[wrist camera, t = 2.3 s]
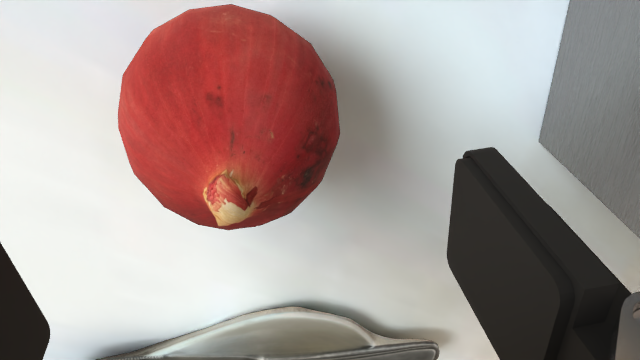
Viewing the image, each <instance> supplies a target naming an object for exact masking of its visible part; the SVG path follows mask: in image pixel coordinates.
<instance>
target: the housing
mask: <svg viewBox="0 0 640 360" xmlns="http://www.w3.org/2000/svg"><path fill="white" fill-rule="evenodd" d="M539 142H540V143H541V144H542V145H543V146H544V147H545V148H546V149H547V150H548V151H549V152H550V153H551V154H552V155H553V156H554V157H555V158H556V159H557V160H558V161H559V162H561V163H562V164H563V165H564V166H565V167H566V168H567V169H568V170H569V171H570V172H571V173H572V174H573V175H574V176H575V177H576V178H577V179H578V180H579V181H580V182H581V183H582V184H583V185H585V186H586V187H587V188H588V189H589V190H590V191H591V192H592V193H593V194H594V195H595V196H596V197H597V198H598V199H599V200H600V201H601V202H602V203H603V204H604V205H605V206H606V207H607V208H609V209H610V210H611V211H612V212H613V213H614V214H615V215H616V216H617V217H618V218H619V219H620V220H621V221H622V222H623V223H624V224H625V225H626V226H627V227H628V228H629V229H630V230H631V231H633V232H634V233H635V234H636V235H637V236H638V237H639V238H640V0H570V3H569V7H568V12H567V16H566V21H565V25H564V30H563V34H562V39H561V43H560V48H559V52H558V57H557V61H556V66H555V70H554V75H553V79H552V84H551V88H550V93H549V97H548V102H547V106H546V111H545V115H544V120H543V124H542V129H541V133H540V138H539Z"/></svg>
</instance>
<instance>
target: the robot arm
mask: <svg viewBox="0 0 640 360" xmlns="http://www.w3.org/2000/svg"><path fill="white" fill-rule="evenodd" d="M447 259H448V264H449V267H450V269H451V271H452V273H453V275H454V276H455V278H456V280H457V282H458V284H459V286H460V287H461V289H462V291H463V293H464V295H465V297H466V298H467V300H468V302H469V304H470V306H471V308H472V309H473V311H474V313H475V315H476V317H477V318H478V320H479V322H480V324H481V326H482V328H483V329H484V331H485V333H486V335H487V337H488V339H489V340H490V342H491V344H492V346H493V348H494V349H495V351H496V353H497V355H498V357H499V359H500V360H640V292H636V293H633V294H631V293H630V292H629V291H628V289H627V288H626V287H625V286H624V285H623V284H622V283H621V282H620V281H619V280H618V279H617V278H616V277H615V275H614V274H613V273H612V272H611V271H610V270H609V269H608V268H607V267H606V266H605V265H604V264H603V263H602V261H601V260H600V259H599V258H598V257H597V256H596V255H595V254H594V253H593V252H592V251H591V250H590V249H589V247H588V246H587V245H586V244H585V243H584V242H583V241H582V240H581V239H580V238H579V237H578V236H577V235H576V233H575V232H574V231H573V230H572V229H571V228H570V227H569V226H568V225H567V224H566V223H565V222H564V221H563V219H562V218H561V217H560V216H559V215H558V214H557V213H556V212H555V211H554V210H553V209H552V208H551V207H550V206H549V205H548V204H547V203H545V201H544V200H543V199H542V198H541V197H540V196H539V195H538V194H537V193H536V192H535V191H534V190H533V188H532V187H531V186H530V185H529V184H528V183H527V182H526V181H525V180H524V179H523V178H522V177H521V176H520V174H519V173H518V172H517V171H516V170H515V169H514V168H513V167H512V166H511V165H510V164H509V163H508V161H507V160H506V159H505V158H504V157H503V156H502V155H501V154H500V153H499V152H498V151H497V150H496V149H495V148H493V147H490V148H483V149H477V150H470V151H466V152H465V153H464V155H463V159H458V160H457V161H456V164H455V173H454V184H453V194H452V205H451V215H450V226H449V236H448V246H447ZM49 339H50V328H49V324H48V322H47V320H46V319H45V317H44V315H43V314H42V312H41V310H40V308H39V307H38V305H37V303H36V302H35V300H34V298H33V297H32V295H31V293H30V292H29V290H28V288H27V287H26V285H25V283H24V281H23V280H22V278H21V276H20V275H19V273H18V271H17V270H16V268H15V266H14V265H13V263H12V261H11V260H10V258H9V256H8V254H7V253H6V251H5V249H4V248H3V246H2V244H1V243H0V360H43V357H44V354H45V351H46V348H47V346H48V343H49Z"/></svg>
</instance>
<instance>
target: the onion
mask: <svg viewBox="0 0 640 360" xmlns="http://www.w3.org/2000/svg"><path fill="white" fill-rule="evenodd" d="M118 127H119V131H120V134H121V137H122V141H123V144H124V147H125V150H126V153H127V156H128V159H129V163H130V165H131V167H132V170H133V172H134V174H135V175H136V176H137V178H138V179H139V180H140V181H141V182H142V183H143V184H144V185H145V186H146V187H147V188H148V190H149V191H150V192H151V193H152V194H153V195H154V196H155V197H156V198H157V199H158V201H159V202H160V203H161V204H162V205H163V206H164V207H165V208H167V209H169V210H171V211H173V212H175V213H177V214H179V215H180V216H182V217H184V218H186V219H188V220H190V221H192V222H194V223H196V224H198V225H203V226H208V227H214V228H219V229H225V230H233V229H239V228H247V227H256V226H260V225H263V224H265V223H268V222H270V221H273V220H275V219H278V218H280V217H283V216H285V215H287V214H289V213H291V212H292V211H293V210H294V209H295V208H296V207H297V206H298V205H299V204H300V203H301V202H302V201H303V200H304V199H305V198H306V197H307V196H308V195H309V194H310V193H311V192H312V191H313V190H314V189H315V188H316V187H317V186H318V185H319V184H320V182H321V181H322V179H323V177H324V174H325V172H326V169H327V167H328V165H329V162H330V160H331V157H332V155H333V152H334V150H335V148H336V145H337V142H338V139H339V135H340V128H339V117H338V107H337V96H336V89H335V85H334V81H333V79H332V77H331V75H330V74H329V72H328V71H327V69H326V67H325V66H324V64H323V63H322V61H321V59H320V58H319V56H318V55H317V53H316V51H315V50H314V48H313V46H312V45H311V43H309V42H308V41H306V40H305V39H304V38H302V37H301V36H300V35H298V34H297V33H295V32H294V31H293V30H291V29H290V28H288V27H287V26H286V25H284V24H283V23H281V22H280V21H279V20H277V19H276V18H274V17H272V16H271V15H268V14H264V13H261V12H257V11H253V10H250V9H246V8H243V7H239V6H235V5H232V4H229V5H221V6H213V7H205V8H198V9H190V10H188V11H186V12H184V13H182V14H180V15H179V16H177V17H175V18H173V19H172V20H170V21H168V22H166V23H164V24H163V25H161V26H159V27H157V28H156V29H154V30H153V31H152V32H151V33H150V34H149V35H148V37H147V38H146V39H145V41H144V42H143V44H142V46H141V47H140V49H139V50H138V52H137V53H136V55H135V57H134V58H133V60H132V61H131V63H130V64H129V66H128V68H127V69H126V71H125V72H124V74H123V77H122V85H121V93H120V101H119V109H118Z"/></svg>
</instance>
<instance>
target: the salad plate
mask: <svg viewBox="0 0 640 360" xmlns="http://www.w3.org/2000/svg"><path fill="white" fill-rule="evenodd" d="M438 357H439V348H438V345H437V344H436V343H435V342H433V341H430V340H424V339H422V340H419V339H393V338H387V337H383V336H380V335H377V334H375V333H372V332H370V331H369V330H367V329H366V328H364V327H362V326H361V325H359V324H358V323H356V322H355V321H353V320H352V319H349V318H346V317H342V316H338V315H334V314H330V313H325V312H320V311H314V310H310V309H306V308H303V307H283V308H276V309H269V310H264V311H259V312H254V313H249V314H245V315H242V316H239V317H236V318H233V319H230V320H228V321H225V322H221V323H219V324H216V325H213V326H211V327H208V328H205V329H202V330H200V331H196V332H193V333H189V334H186V335H183V336H180V337H177V338H173V339H169V340H166V341H163V342H160V343H157V344H154V345H151V346H148V347H146V348H143V349H140V350H137V351H134V352H130V353H125V354H120V355H116V356H111V357H106V358H101V359H96V360H436V359H437V358H438Z"/></svg>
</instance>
